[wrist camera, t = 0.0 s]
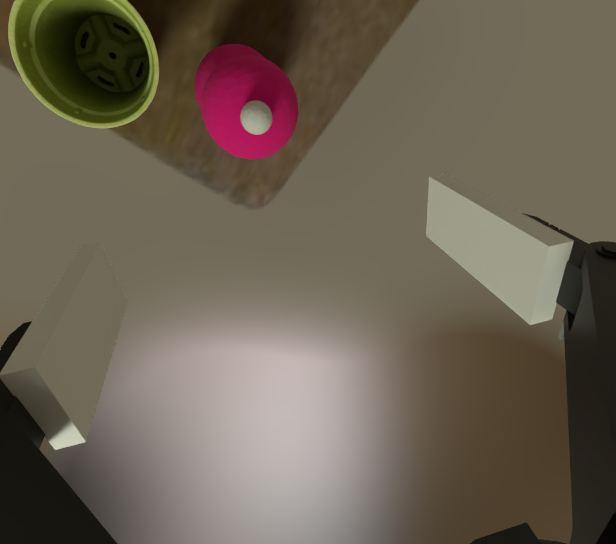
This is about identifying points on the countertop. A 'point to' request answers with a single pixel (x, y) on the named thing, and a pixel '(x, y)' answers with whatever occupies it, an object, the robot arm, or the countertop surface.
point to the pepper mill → (245, 101)
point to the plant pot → (85, 58)
